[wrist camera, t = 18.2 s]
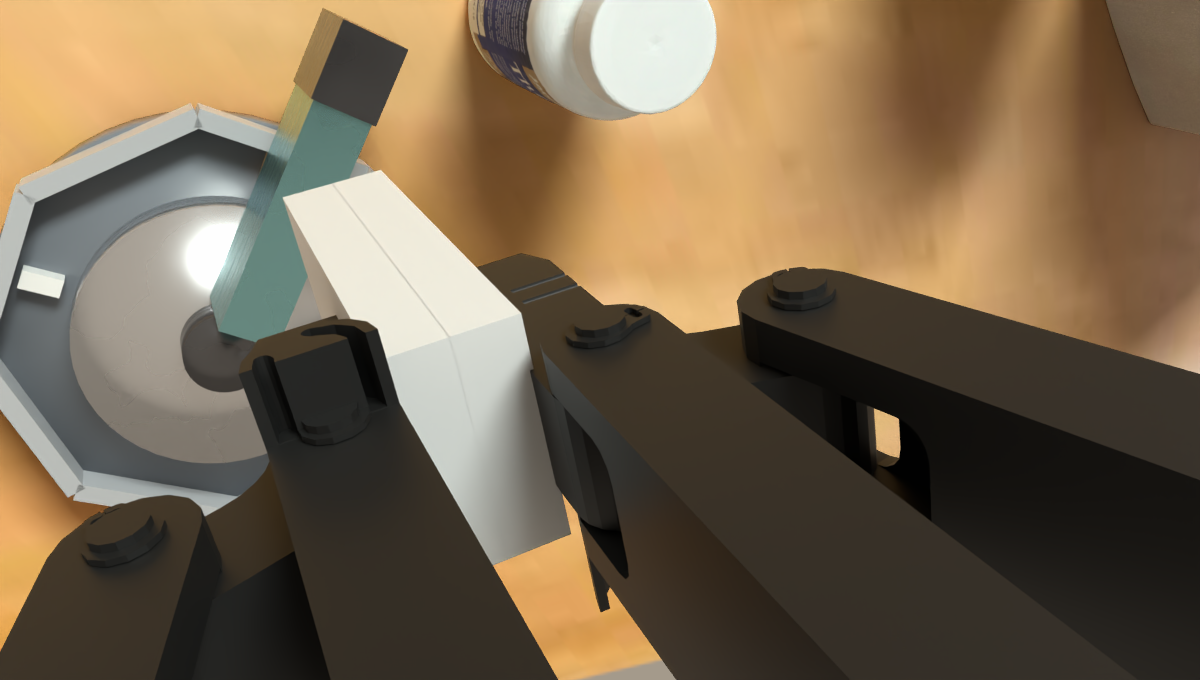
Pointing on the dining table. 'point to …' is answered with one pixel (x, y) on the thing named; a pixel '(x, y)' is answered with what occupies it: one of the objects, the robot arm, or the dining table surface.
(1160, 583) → the robot arm
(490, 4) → the pill bottle
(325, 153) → the dial
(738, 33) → the dining table surface
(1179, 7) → the planter
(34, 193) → the housing
